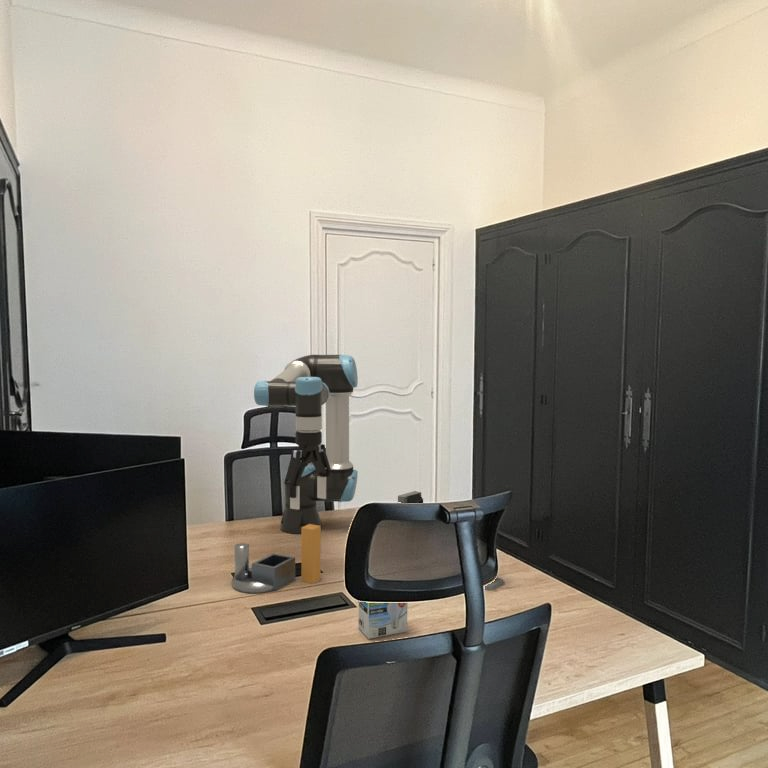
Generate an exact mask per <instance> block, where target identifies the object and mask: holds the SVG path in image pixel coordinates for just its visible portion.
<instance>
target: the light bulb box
mask: <svg viewBox="0 0 768 768" xmlns="http://www.w3.org/2000/svg"><path fill="white" fill-rule="evenodd" d="M408 604H409V603H366V602H359V601H358V622H357V623H358V626H357V627H358V629H359V630H360V631H361V633H363V635H364V636H365V637H366V638H367V639H368V640H370V639H371V640H372V639H375V638H376V639H377V638H380V637H381V638H382V637H386V636H390V635H396V634H401V633H402V634H403V633H407V632H408Z"/></svg>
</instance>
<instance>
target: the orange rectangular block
mask: <svg viewBox="0 0 768 768" xmlns="http://www.w3.org/2000/svg"><path fill="white" fill-rule="evenodd" d="M321 529H322V525H321V526H318V525H312V524H308V525H306V526H304V527H301V534H300V535H301V540H300V541H301V542H300V543H301V545H300V546H301V547H300V549H301V551H300V552H301V559H300V561H301V573H300V574H301V577H300V579H301V582H303V583H307V584H312V585H314V584H315V583H317V582H318V581H320V580H321V578H322V577H321V572H322V571H321V567H322V566H321V565H322V564H321V558H322V557H321V553H322V552H321V551H322V550H321V549H322V548H321V541H322V540H321V538H322V536H321V532H322V531H321Z"/></svg>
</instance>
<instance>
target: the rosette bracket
mask: <svg viewBox="0 0 768 768" xmlns="http://www.w3.org/2000/svg"><path fill="white" fill-rule="evenodd" d="M295 580H296V557H294V556H290V555H284V554H280V553H273V552H272V553H271V554H268V555H267V556H265V557H262V558H260V559H258V560H256V561H254V562H252V563H251V567H250V545H249V544H248V543H246V542H240V543H236V544H235V545H234V576H233V577H232V579H231V584H232V585H231V587H232V589H233V590H235V591H236V592H239V593H243V594H252V595H253V594H265V593H270V592H275V591H277V590H279V589H281V588H283V587H284V586H286V585H288V584H290V583H291V582H294V581H295Z"/></svg>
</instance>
